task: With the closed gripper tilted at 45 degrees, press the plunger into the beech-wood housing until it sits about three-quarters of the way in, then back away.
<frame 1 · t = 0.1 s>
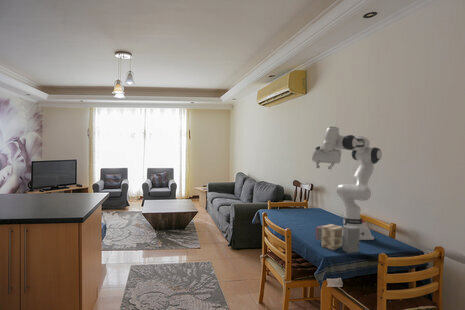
hand: (323, 168, 203), 52 cm above the table, tool tilted 20°, fingers open, 8 cm apart
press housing: (325, 244, 207), on the table
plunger: (323, 233, 208), point 7 cm above the table, slide at 0.0 cm
skincare box: (350, 251, 195), on the table
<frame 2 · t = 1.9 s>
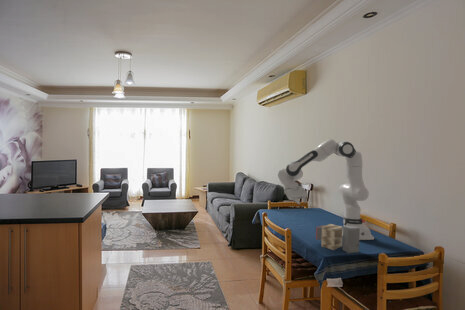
hand: (302, 202, 220), 26 cm above the table, tool tilted 45°, fingers open, 7 cm apart
nothing on the table moved.
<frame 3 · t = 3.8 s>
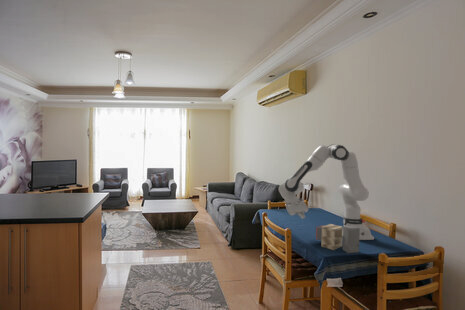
hand: (303, 217, 219), 15 cm above the table, tool tilted 45°, fingers closed
nothing on the table moved.
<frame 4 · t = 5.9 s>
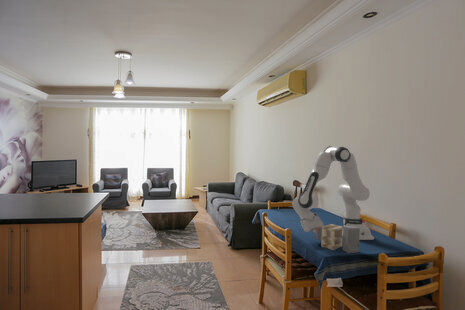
hand: (319, 234, 210), 6 cm above the table, tool tilted 45°, fingers closed, pressing on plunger
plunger: (324, 233, 207), point 7 cm above the table, slide at 0.6 cm, touching gripper
everything else where it was.
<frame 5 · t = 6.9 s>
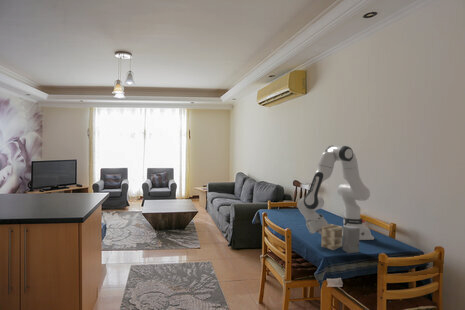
hand: (325, 236, 207), 6 cm above the table, tool tilted 45°, fingers closed, pressing on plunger
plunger: (329, 234, 204), point 8 cm above the table, slide at 5.0 cm, touching gripper
everything else where it was.
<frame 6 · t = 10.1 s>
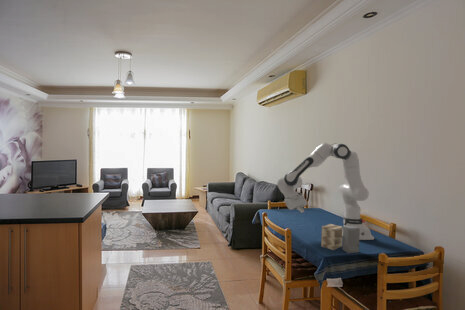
hand: (302, 211, 220), 19 cm above the table, tool tilted 45°, fingers closed
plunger: (329, 234, 204), point 7 cm above the table, slide at 5.0 cm
everything else where it was.
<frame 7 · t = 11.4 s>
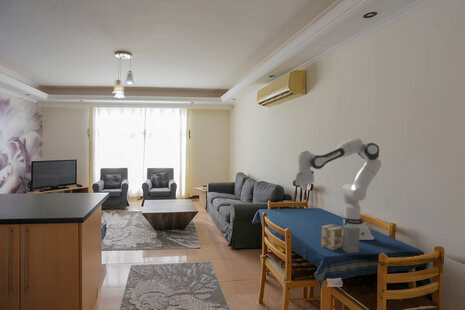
hand: (304, 190, 235), 33 cm above the table, tool pointing down, fingers closed
nothing on the table moved.
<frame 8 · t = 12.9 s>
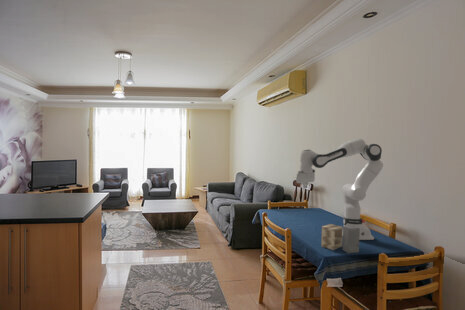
hand: (305, 188, 236), 34 cm above the table, tool pointing down, fingers closed
nothing on the table moved.
at the end: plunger slide at 5.0 cm; skincare box moved 0.2 cm from its start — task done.
